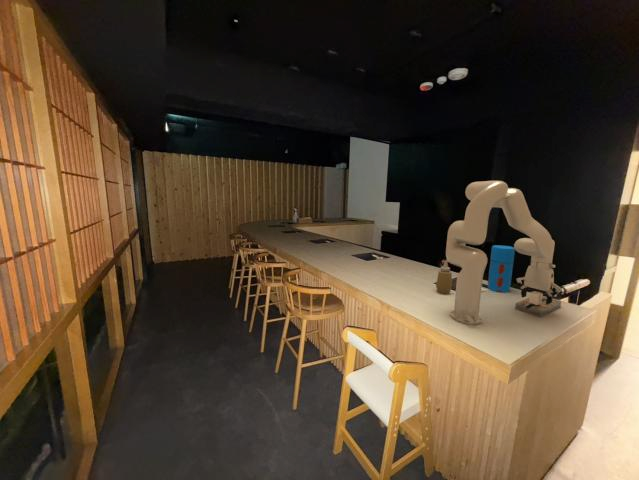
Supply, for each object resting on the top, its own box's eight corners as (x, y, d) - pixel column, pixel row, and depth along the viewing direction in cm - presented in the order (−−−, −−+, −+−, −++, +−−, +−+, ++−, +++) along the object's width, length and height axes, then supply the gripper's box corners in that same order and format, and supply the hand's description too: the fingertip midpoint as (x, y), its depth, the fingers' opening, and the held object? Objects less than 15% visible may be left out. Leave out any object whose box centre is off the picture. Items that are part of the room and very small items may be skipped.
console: (535, 300, 139) (536, 294, 139) (560, 306, 131) (561, 300, 130) (515, 309, 128) (515, 302, 128) (540, 317, 120) (541, 310, 119)
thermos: (487, 290, 153) (492, 247, 148) (486, 285, 162) (491, 244, 158) (511, 294, 148) (516, 249, 143) (508, 288, 157) (513, 246, 153)
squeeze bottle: (449, 296, 144) (452, 263, 141) (433, 293, 149) (436, 261, 146) (452, 292, 150) (455, 260, 147) (437, 289, 155) (439, 258, 152)
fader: (532, 303, 130) (534, 291, 129) (541, 305, 127) (542, 293, 126) (528, 304, 128) (530, 292, 127) (537, 307, 125) (539, 294, 124)
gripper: (568, 268, 118) (562, 305, 121) (522, 260, 133) (518, 293, 136) (561, 270, 115) (555, 308, 117) (515, 262, 129) (511, 295, 132)
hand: (535, 300), depth 127 cm, fingers open, 9 cm apart
